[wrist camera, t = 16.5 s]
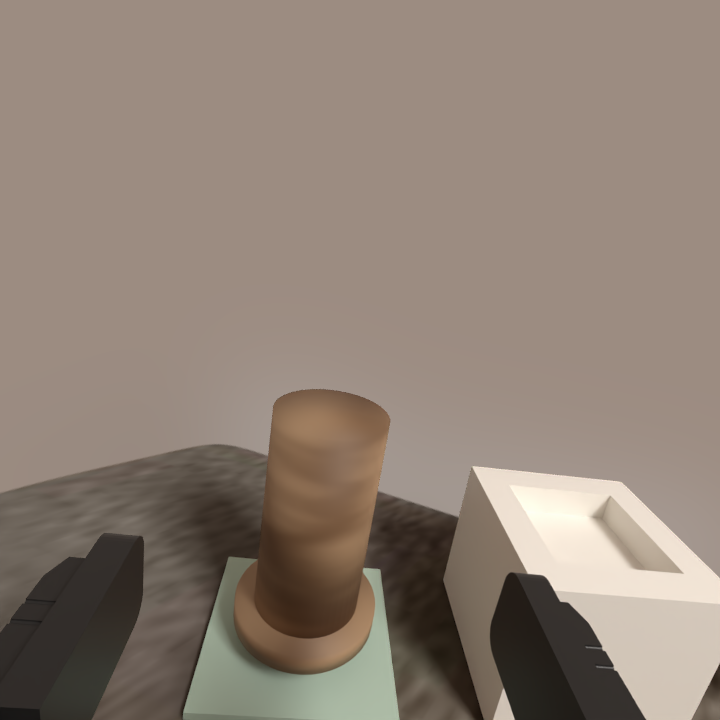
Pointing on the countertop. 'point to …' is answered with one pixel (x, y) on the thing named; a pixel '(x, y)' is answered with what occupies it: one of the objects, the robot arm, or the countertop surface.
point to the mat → (284, 690)
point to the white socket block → (587, 583)
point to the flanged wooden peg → (314, 534)
